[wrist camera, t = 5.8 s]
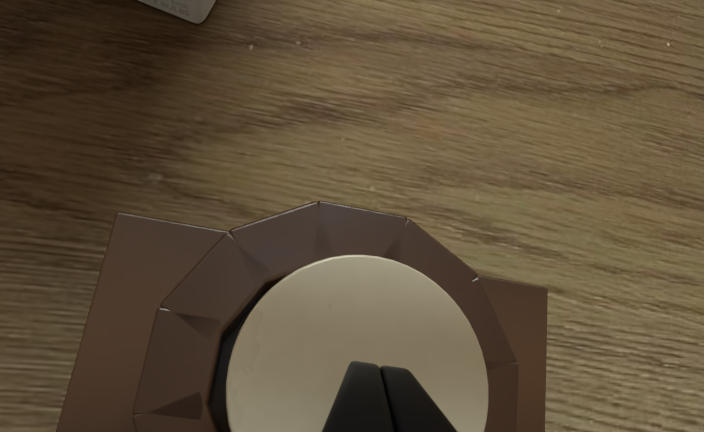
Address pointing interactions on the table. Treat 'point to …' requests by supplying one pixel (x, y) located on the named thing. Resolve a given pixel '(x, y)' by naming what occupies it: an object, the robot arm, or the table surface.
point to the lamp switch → (351, 345)
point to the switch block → (242, 296)
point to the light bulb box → (184, 8)
